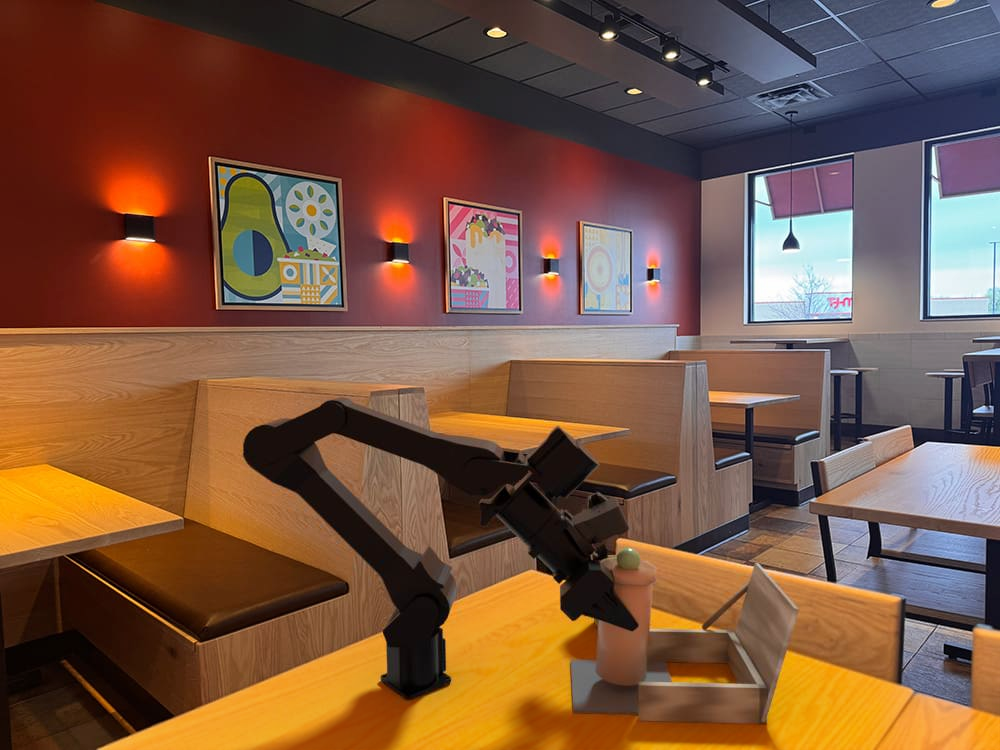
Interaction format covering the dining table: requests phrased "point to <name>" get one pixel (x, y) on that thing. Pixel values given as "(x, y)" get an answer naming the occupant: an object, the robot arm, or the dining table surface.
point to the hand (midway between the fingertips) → (632, 616)
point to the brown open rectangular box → (725, 660)
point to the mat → (608, 689)
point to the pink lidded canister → (616, 646)
